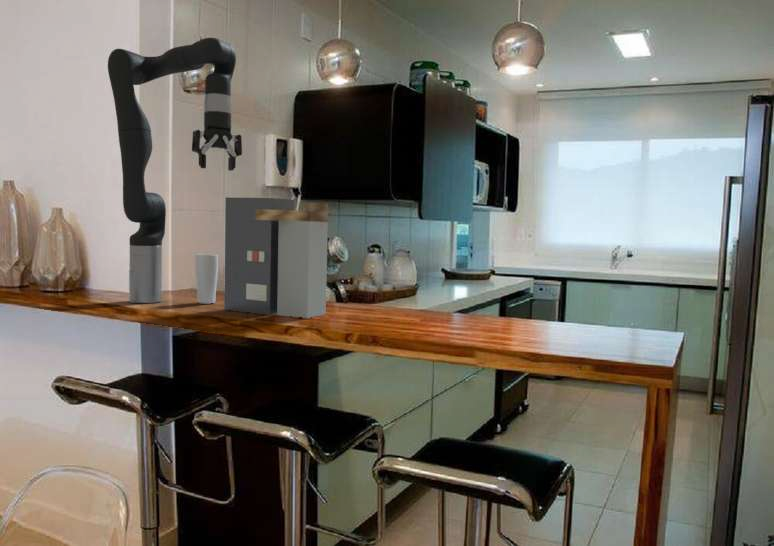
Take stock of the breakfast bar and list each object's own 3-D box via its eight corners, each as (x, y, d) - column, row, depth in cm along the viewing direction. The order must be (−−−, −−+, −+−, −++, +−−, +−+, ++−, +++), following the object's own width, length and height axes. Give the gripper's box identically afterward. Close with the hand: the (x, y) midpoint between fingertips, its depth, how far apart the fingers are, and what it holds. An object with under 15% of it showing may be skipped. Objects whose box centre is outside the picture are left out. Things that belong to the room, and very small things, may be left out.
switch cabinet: (222, 310, 184) (223, 197, 181) (248, 306, 194) (249, 199, 191) (267, 315, 176) (269, 197, 174) (292, 311, 187) (294, 199, 184)
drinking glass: (214, 304, 195) (214, 255, 193) (191, 304, 195) (192, 254, 194) (220, 302, 201) (220, 254, 200) (198, 301, 202) (199, 253, 200)
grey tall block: (277, 315, 178) (278, 220, 176) (296, 311, 186) (298, 220, 184) (307, 318, 173) (309, 221, 171) (325, 314, 181) (327, 221, 179)
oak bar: (257, 219, 169) (258, 200, 169) (254, 219, 174) (254, 201, 174) (327, 221, 176) (328, 203, 176) (322, 221, 181) (323, 203, 181)
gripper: (234, 116, 192) (234, 171, 193) (188, 110, 183) (188, 168, 184) (246, 113, 186) (245, 170, 187) (199, 107, 177) (198, 166, 178)
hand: (217, 169), depth 185 cm, fingers open, 8 cm apart
